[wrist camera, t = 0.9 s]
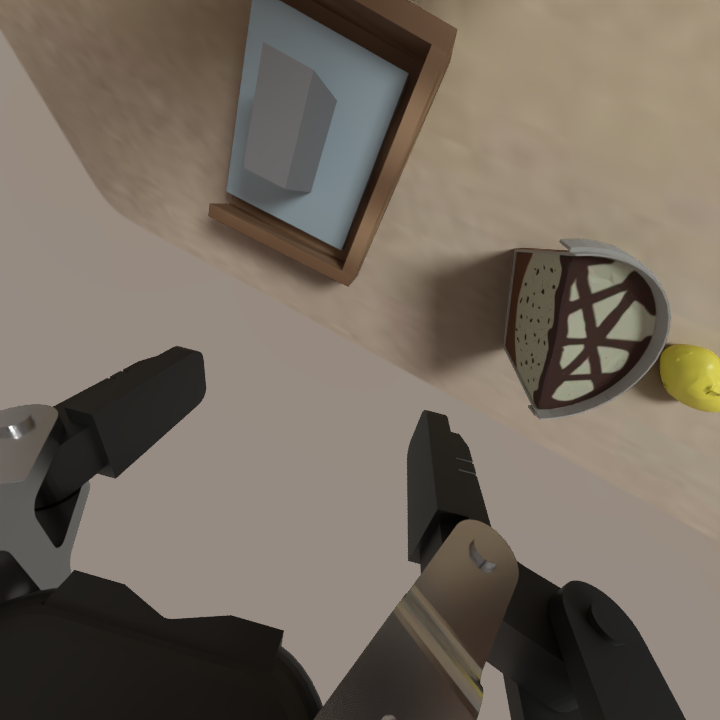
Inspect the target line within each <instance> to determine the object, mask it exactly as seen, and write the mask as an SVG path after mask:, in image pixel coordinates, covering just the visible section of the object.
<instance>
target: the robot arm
mask: <svg viewBox="0 0 720 720" xmlns="http://www.w3.org/2000/svg"><path fill="white" fill-rule="evenodd" d="M205 392H206V381H205V371H204V360H203V355H202V354H201V352H198V351H194V350H191V349H187V348H183V347H179V346H176V347H173V348H171V349H169V350H167V351H165V352H164V353H162V354H160V355H158V356H156V357H152V358H148V359H145V360H142V361H139V362H137V363H135V364H133V365H131V366H129V367H127V368H125V369H124V370H123V372H122V371H120V372H118V373H116V374H114V375H112V376H111V377H110V379H108V378H106V379H105V380H103V381H101V382H99V383H97V384H95V385H93V386H92V387H89V388H88V389H86V390H84V391H82V392H80V393H78V394H76V395H74V396H73V397H71V398H69V399H67V400H65V401H63V402H61V403H59V404H57V405H56V406H53V407H51V406H48V405H41V404H33V405H23V406H17V407H13V408H8V409H5V410H2V411H0V720H477V717H478V715H479V711H480V708H481V704H482V699H483V687H482V686H481V684H480V679H481V674H482V671H483V668H484V666H485V663H486V661H487V662H488V663H490V664H491V665H492V666H494V667H495V668H496V669H498V670H499V671H500V672H502V673H503V676H504V682H505V687H506V693H507V698H508V704H509V710H510V715H511V720H686V719H685V717H684V715H683V713H682V711H681V710H680V708H679V706H678V704H677V702H676V700H675V698H674V696H673V694H672V693H671V691H670V689H669V687H668V685H667V683H666V681H665V679H664V678H663V676H662V674H661V672H660V670H659V668H658V666H657V664H656V662H655V661H654V659H653V657H652V655H651V653H650V651H649V649H648V647H647V646H646V644H645V642H644V640H643V638H642V637H641V635H640V633H639V631H638V630H637V628H636V627H635V626H634V624H633V622H632V621H631V620H630V618H629V617H628V616H627V615H626V614H625V613H624V611H623V610H622V609H621V608H620V607H619V606H618V605H617V604H616V603H615V602H614V601H613V600H612V599H611V598H609V597H608V596H607V595H606V594H604V593H603V592H602V591H600V590H599V589H597V588H596V587H594V586H592V585H590V584H588V583H585V582H582V581H570V582H569V583H567V584H566V585H564V586H563V587H562V588H560V587H558V586H556V585H555V584H553V583H551V582H549V581H548V580H546V579H545V578H543V577H541V576H539V575H538V574H536V573H535V572H533V571H531V570H530V569H528V568H526V567H525V566H523V565H522V564H520V563H519V562H517V560H516V558H515V556H514V553H513V551H512V550H511V548H510V546H509V545H508V544H507V542H506V541H505V540H504V539H503V538H502V536H501V535H500V534H498V532H497V531H495V530H494V529H493V528H492V527H491V525H490V521H489V518H488V514H487V510H486V507H485V503H484V500H483V496H482V493H481V490H480V486H479V483H478V479H477V476H476V472H475V468H474V464H472V457H471V454H470V450H469V447H468V446H467V444H466V443H465V442H464V440H463V439H462V437H461V436H460V435H459V434H456V433H453V432H451V431H450V426H449V422H448V418H447V416H446V415H442V414H439V413H435V412H431V411H427V410H424V411H423V412H422V414H421V417H420V419H419V422H418V424H417V426H416V430H415V431H414V434H413V436H412V439H411V441H410V445H409V449H408V455H407V492H408V493H407V495H408V496H407V497H408V561H411V562H415V563H418V564H421V575H420V576H419V578H418V579H417V580H416V582H415V583H414V585H413V586H412V587H411V589H410V590H409V591H408V593H407V594H405V596H404V597H403V598H402V600H401V601H400V602H399V603H398V605H397V606H396V607H395V609H394V610H393V611H392V613H391V614H390V616H389V617H388V618H387V620H386V621H385V622H384V624H383V625H382V627H381V628H380V629H379V631H378V632H377V633H376V635H375V636H374V637H373V639H372V640H371V642H370V643H369V645H368V646H367V647H366V648H365V650H364V651H363V653H362V654H361V655H360V657H359V658H358V659H357V661H356V662H355V664H354V665H353V667H352V668H351V669H350V670H349V672H348V673H347V675H346V676H345V677H344V679H343V680H342V681H341V683H340V684H339V685H338V687H337V688H336V690H335V691H334V692H333V694H332V695H331V697H330V698H329V699H328V701H327V702H326V703H325V705H324V706H322V703H321V700H320V697H319V695H318V693H317V691H316V689H315V687H314V685H313V683H312V681H311V679H310V678H309V676H308V675H307V673H306V672H305V670H304V668H303V667H302V666H301V664H300V663H299V662H298V661H297V660H296V659H295V658H294V657H293V655H291V654H290V653H289V652H288V651H287V650H285V649H284V648H283V647H282V646H281V645H282V638H283V632H284V631H283V630H280V629H276V628H273V627H269V626H266V625H262V624H259V623H256V622H252V621H249V620H245V619H242V618H238V617H235V616H231V615H230V616H215V617H198V618H183V619H167V618H164V617H163V616H161V615H160V614H159V613H158V612H156V611H155V610H154V609H153V608H152V607H151V606H149V605H148V604H147V603H146V602H145V601H143V600H142V599H141V598H140V597H139V596H138V595H136V594H135V593H134V592H133V591H132V590H131V589H129V588H128V587H127V586H126V585H125V584H121V583H117V582H114V581H111V580H107V579H103V578H100V577H97V576H94V575H90V574H87V573H83V572H80V571H76V570H74V571H73V572H72V573H71V569H70V556H71V551H72V548H73V544H74V541H75V538H76V534H77V531H78V527H79V524H80V521H81V517H82V514H83V511H84V507H85V504H86V501H87V497H88V494H89V490H90V483H89V481H88V480H89V479H91V478H92V477H93V476H94V475H96V474H97V473H98V474H101V475H105V476H108V477H112V478H117V477H118V476H119V475H120V474H121V473H122V472H123V471H125V470H126V469H127V468H128V467H129V466H130V465H131V464H132V463H134V462H135V461H136V460H137V459H138V458H139V457H140V456H141V455H143V454H144V453H145V452H146V451H147V450H148V449H149V448H150V447H152V446H153V445H154V444H155V443H156V442H157V441H158V440H159V439H161V438H162V437H163V436H164V435H165V434H166V433H167V432H168V431H169V430H170V429H172V428H173V427H174V426H175V425H176V424H177V423H178V422H180V420H182V419H183V418H184V417H185V416H186V415H187V414H188V413H190V412H191V411H192V410H193V409H194V408H195V407H196V406H197V405H198V404H200V402H201V401H202V399H203V398H204V395H205Z"/></svg>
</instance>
